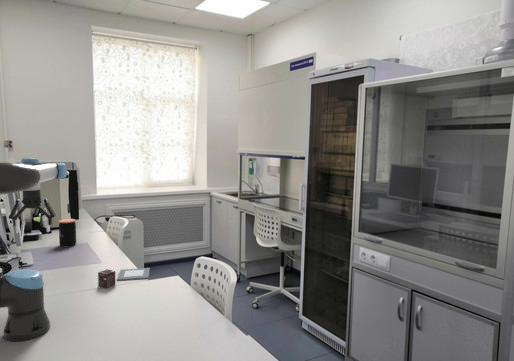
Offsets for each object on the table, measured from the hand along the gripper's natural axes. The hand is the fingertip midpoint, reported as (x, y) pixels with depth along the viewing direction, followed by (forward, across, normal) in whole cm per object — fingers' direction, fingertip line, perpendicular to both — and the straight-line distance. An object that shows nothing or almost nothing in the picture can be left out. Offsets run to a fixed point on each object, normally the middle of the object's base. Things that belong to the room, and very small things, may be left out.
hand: (33, 232), depth 185 cm
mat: (+28, -46, -9) cm, 55 cm away
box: (+28, -34, +5) cm, 45 cm away
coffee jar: (+28, +5, -82) cm, 87 cm away
